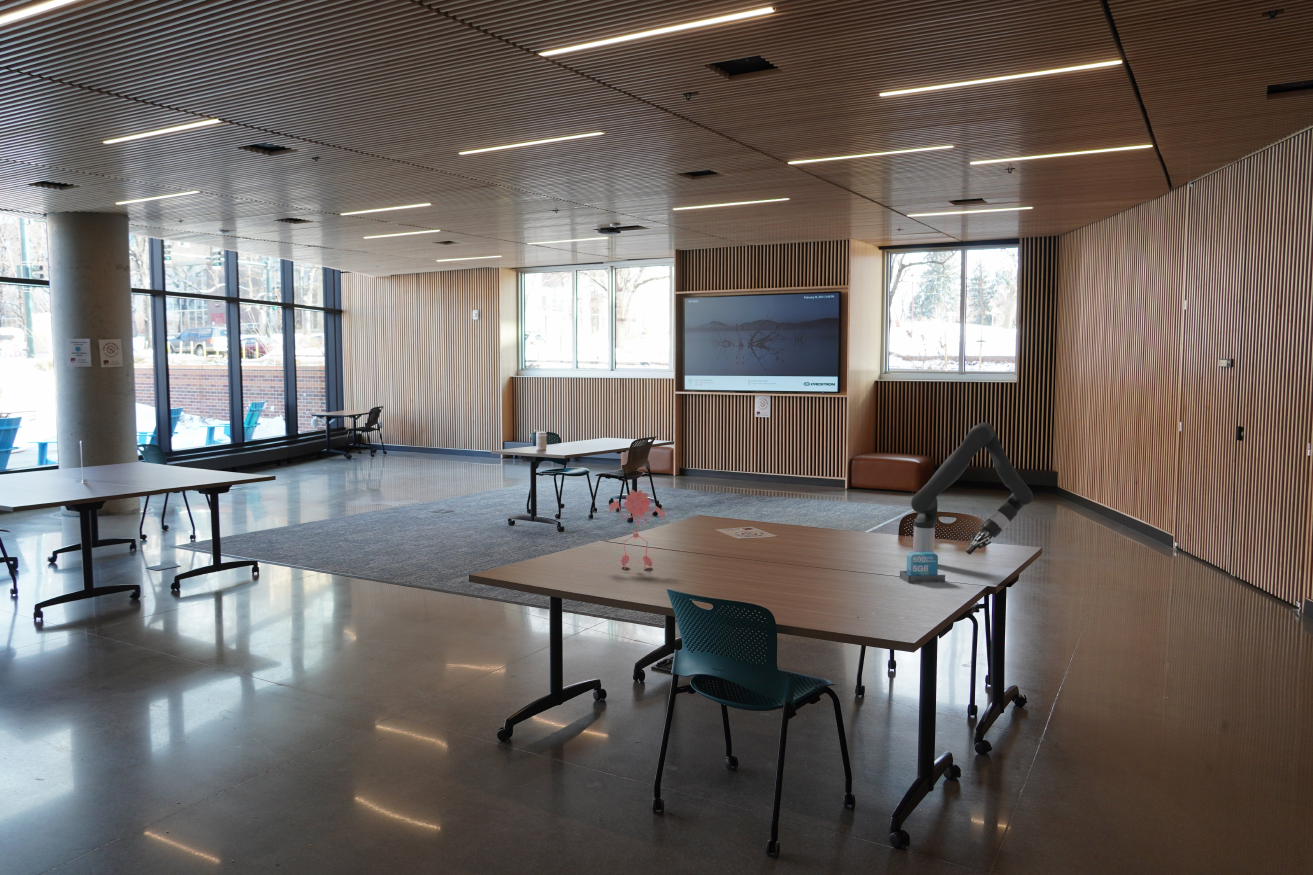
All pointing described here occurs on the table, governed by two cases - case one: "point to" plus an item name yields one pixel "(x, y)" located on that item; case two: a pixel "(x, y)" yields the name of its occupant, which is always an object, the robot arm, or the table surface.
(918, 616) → the table surface
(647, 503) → the pink fuzzy puppet
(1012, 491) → the robot arm
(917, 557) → the data package
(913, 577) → the keeper bracket
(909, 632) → the table surface
